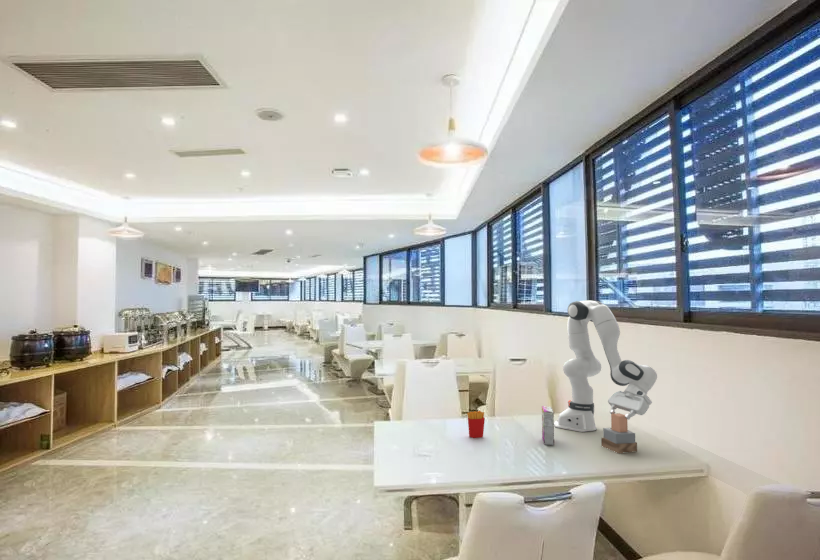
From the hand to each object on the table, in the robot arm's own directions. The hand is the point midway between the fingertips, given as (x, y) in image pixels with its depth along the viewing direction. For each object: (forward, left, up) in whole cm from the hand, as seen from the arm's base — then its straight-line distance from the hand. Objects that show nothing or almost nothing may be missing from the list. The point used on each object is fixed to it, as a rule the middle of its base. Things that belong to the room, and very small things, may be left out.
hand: (618, 416), depth 213 cm
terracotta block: (0, 0, -7) cm, 7 cm away
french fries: (-68, -13, -16) cm, 71 cm away
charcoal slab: (0, 0, -11) cm, 11 cm away
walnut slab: (0, 0, -16) cm, 16 cm away
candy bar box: (-33, -5, -16) cm, 37 cm away
